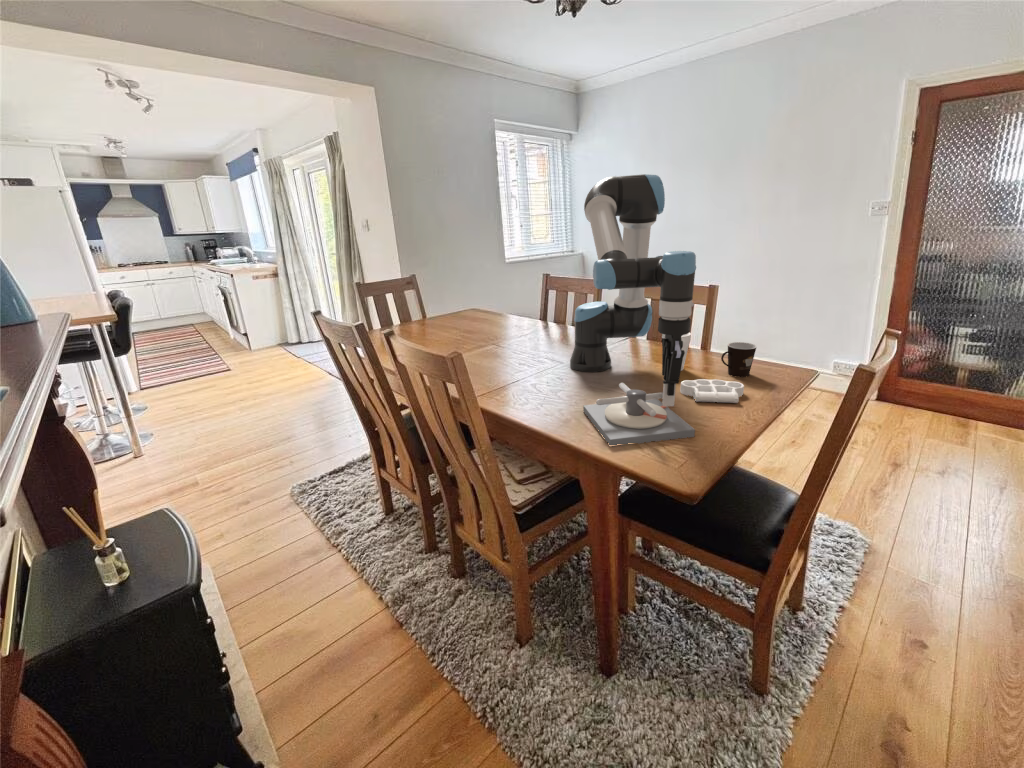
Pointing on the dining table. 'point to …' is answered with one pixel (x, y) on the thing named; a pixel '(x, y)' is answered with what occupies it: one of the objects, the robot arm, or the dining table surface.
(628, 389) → the capstan
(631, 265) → the robot arm
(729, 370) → the coffee mug
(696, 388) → the white brass knuckles
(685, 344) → the foam cup
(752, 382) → the dining table surface
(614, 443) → the dial board
